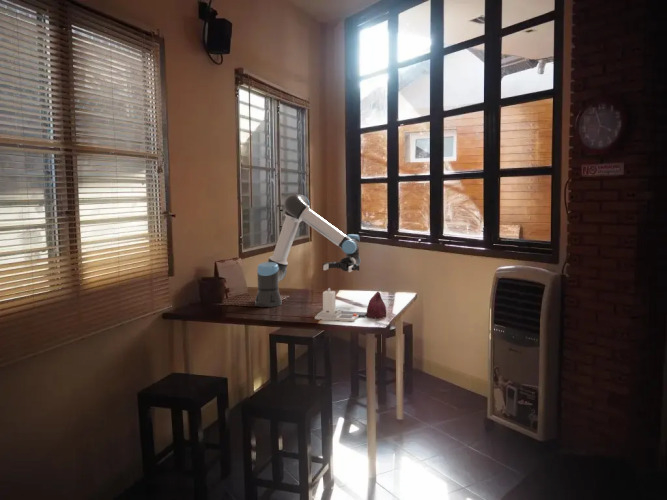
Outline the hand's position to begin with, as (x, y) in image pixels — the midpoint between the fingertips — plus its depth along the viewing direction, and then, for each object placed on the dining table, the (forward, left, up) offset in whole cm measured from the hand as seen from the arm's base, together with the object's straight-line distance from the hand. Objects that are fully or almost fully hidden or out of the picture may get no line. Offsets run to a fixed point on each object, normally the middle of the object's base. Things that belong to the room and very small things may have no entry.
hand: (336, 268), depth 264 cm
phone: (+9, -1, -24) cm, 25 cm away
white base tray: (+3, -10, -24) cm, 26 cm away
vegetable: (+21, 0, -24) cm, 32 cm away
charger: (-1, -10, -22) cm, 25 cm away
